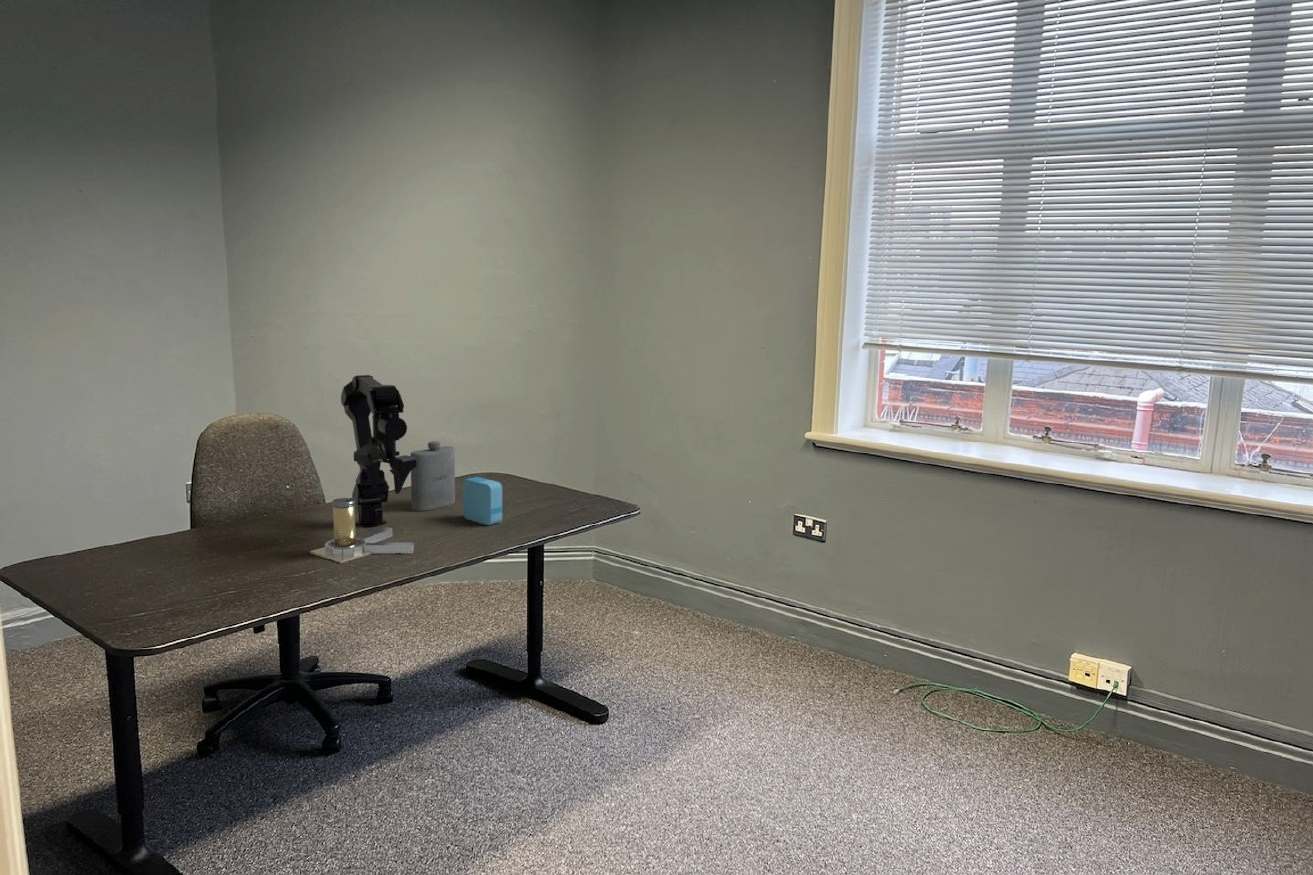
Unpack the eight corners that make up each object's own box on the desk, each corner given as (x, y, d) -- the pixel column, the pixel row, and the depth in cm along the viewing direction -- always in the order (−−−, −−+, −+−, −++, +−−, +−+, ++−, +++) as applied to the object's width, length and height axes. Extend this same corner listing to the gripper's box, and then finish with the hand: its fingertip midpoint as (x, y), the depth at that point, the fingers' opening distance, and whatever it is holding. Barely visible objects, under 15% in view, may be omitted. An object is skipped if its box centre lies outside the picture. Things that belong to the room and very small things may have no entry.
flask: (420, 513, 274) (419, 446, 270) (408, 509, 277) (406, 443, 273) (460, 503, 285) (459, 440, 281) (448, 500, 289) (447, 437, 285)
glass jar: (329, 550, 235) (327, 500, 232) (347, 545, 239) (345, 496, 237) (343, 554, 232) (341, 504, 230) (361, 549, 236) (359, 500, 234)
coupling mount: (310, 553, 234) (309, 544, 234) (382, 533, 253) (382, 524, 252) (361, 569, 223) (360, 559, 223) (432, 547, 242) (432, 538, 242)
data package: (502, 523, 266) (502, 482, 263) (490, 526, 262) (490, 485, 260) (474, 515, 273) (474, 475, 271) (462, 518, 270) (462, 478, 267)
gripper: (335, 432, 242) (337, 490, 245) (383, 442, 232) (385, 502, 235) (370, 427, 251) (371, 483, 254) (417, 435, 241) (418, 494, 244)
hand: (385, 490), depth 247 cm, fingers open, 9 cm apart
